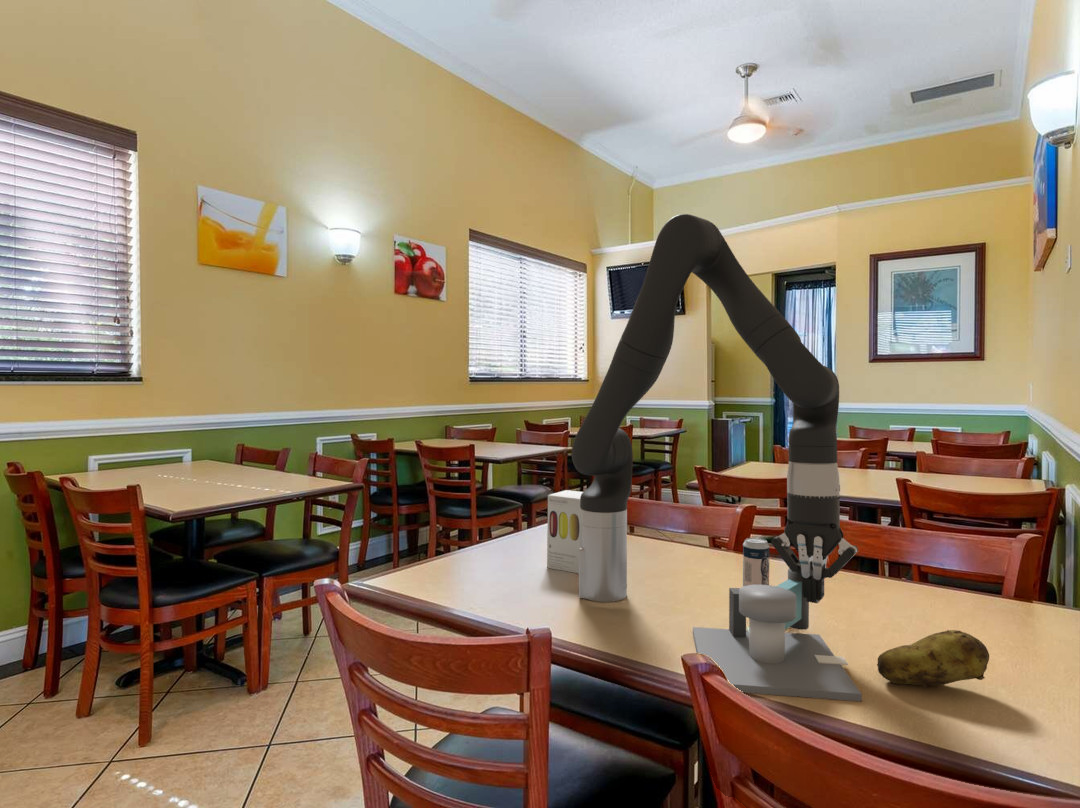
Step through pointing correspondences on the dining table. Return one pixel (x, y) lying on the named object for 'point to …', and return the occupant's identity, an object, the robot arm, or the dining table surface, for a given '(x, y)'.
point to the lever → (776, 603)
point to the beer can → (755, 562)
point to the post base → (778, 674)
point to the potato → (935, 660)
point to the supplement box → (563, 531)
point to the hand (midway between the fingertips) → (813, 601)
